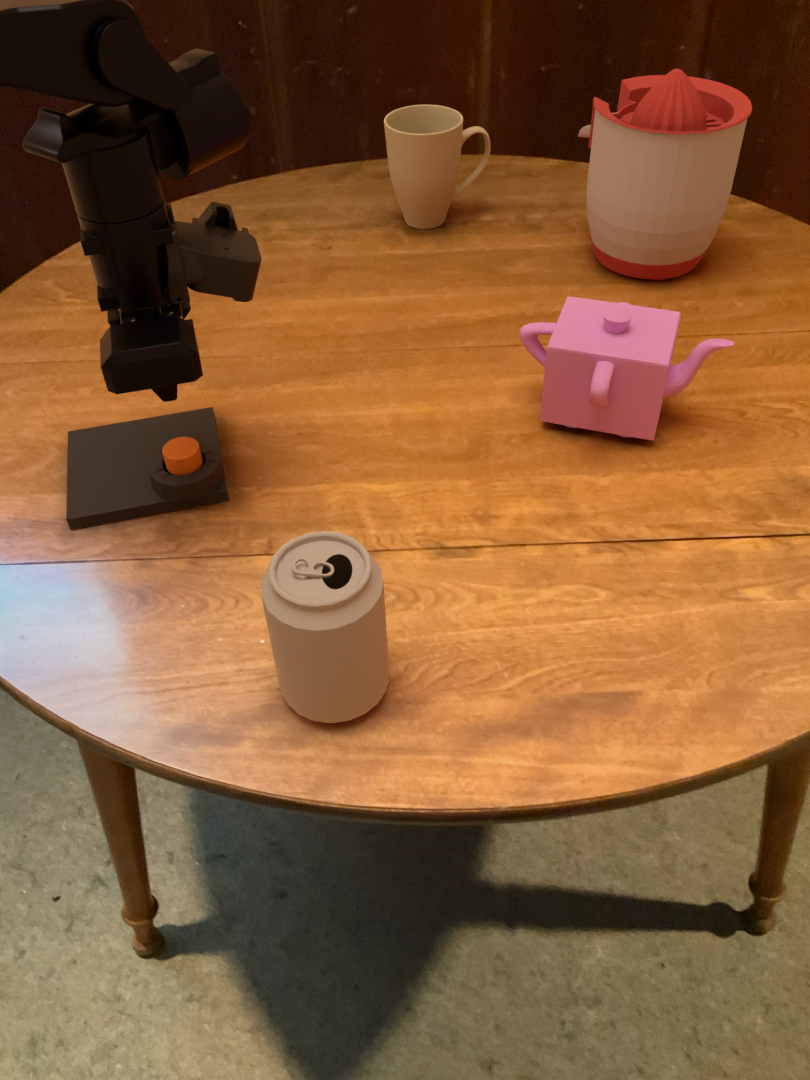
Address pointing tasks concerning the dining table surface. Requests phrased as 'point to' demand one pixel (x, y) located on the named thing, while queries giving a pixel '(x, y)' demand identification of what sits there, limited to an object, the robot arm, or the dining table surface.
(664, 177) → the citrus juicer
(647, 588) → the dining table surface
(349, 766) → the dining table surface
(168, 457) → the button
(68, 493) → the dark grey flat block
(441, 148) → the mug
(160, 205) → the robot arm
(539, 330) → the teapot
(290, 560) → the can
